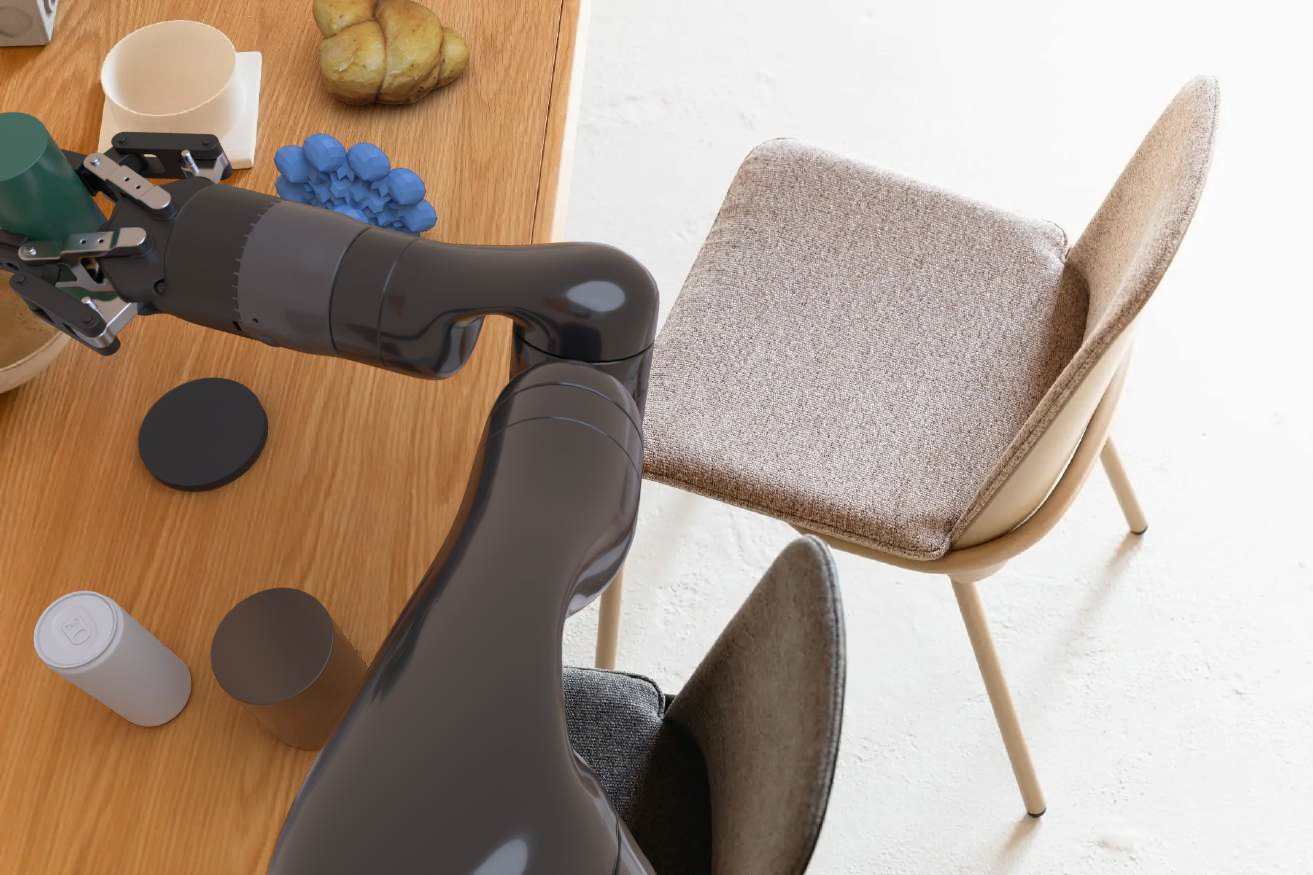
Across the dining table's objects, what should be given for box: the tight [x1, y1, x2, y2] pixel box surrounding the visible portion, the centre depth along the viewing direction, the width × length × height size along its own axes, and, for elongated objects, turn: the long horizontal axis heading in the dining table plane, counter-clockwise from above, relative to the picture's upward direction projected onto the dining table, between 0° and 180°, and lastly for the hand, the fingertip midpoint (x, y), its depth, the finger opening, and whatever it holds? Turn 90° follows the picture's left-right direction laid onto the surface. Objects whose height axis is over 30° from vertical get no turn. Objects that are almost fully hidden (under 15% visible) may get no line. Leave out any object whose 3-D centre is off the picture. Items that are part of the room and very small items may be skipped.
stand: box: [210, 587, 369, 752], centre depth 71 cm, size 7×7×10 cm
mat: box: [137, 377, 269, 493], centre depth 84 cm, size 9×9×1 cm
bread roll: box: [311, 0, 470, 106], centre depth 99 cm, size 13×10×8 cm
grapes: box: [273, 132, 438, 237], centre depth 88 cm, size 12×7×12 cm, turn 86°
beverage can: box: [32, 590, 192, 727], centre depth 70 cm, size 5×5×12 cm
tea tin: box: [0, 111, 118, 301], centre depth 64 cm, size 5×5×11 cm
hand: (4, 201), depth 64 cm, fingers closed on tea tin, 5 cm apart
